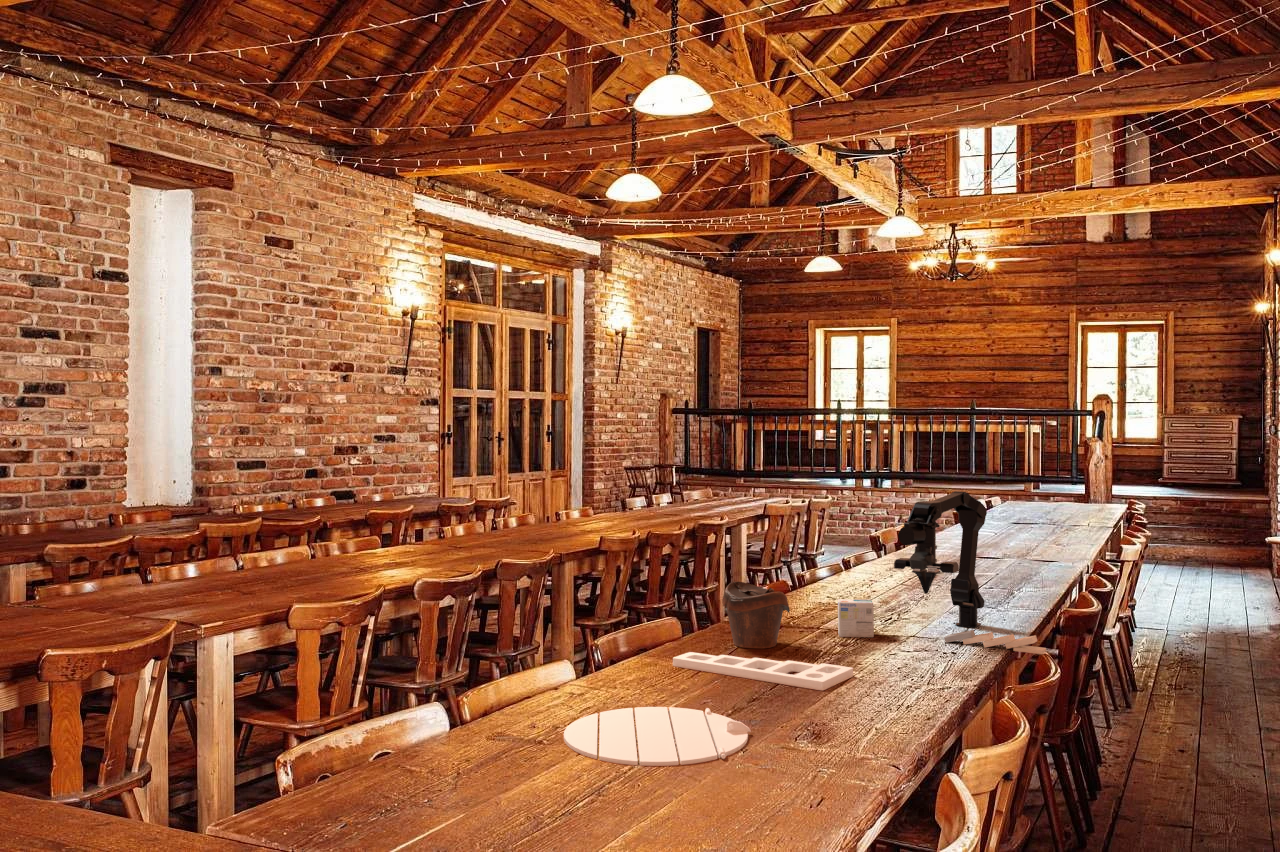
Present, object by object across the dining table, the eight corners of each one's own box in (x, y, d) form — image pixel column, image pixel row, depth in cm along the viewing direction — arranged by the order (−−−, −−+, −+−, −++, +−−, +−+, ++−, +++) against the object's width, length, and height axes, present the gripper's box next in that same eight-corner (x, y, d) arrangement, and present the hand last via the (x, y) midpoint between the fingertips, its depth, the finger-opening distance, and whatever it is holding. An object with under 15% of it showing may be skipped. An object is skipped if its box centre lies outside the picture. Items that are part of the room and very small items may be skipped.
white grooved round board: (739, 710, 250) (739, 696, 250) (764, 766, 211) (764, 748, 211) (567, 712, 248) (566, 698, 248) (560, 769, 209) (560, 751, 209)
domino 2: (966, 636, 322) (992, 632, 318) (967, 641, 322) (994, 637, 318) (962, 639, 319) (988, 634, 315) (963, 644, 318) (990, 640, 314)
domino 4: (1008, 640, 315) (1035, 635, 311) (1010, 646, 314) (1037, 640, 310) (1004, 643, 311) (1032, 637, 307) (1006, 648, 311) (1033, 643, 307)
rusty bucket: (788, 652, 308) (787, 589, 308) (718, 649, 312) (718, 587, 312) (791, 640, 326) (791, 581, 326) (726, 638, 330) (725, 579, 330)
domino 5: (1017, 644, 314) (1046, 648, 309) (1017, 650, 314) (1046, 653, 309) (1013, 647, 310) (1042, 650, 305) (1013, 652, 310) (1042, 656, 305)
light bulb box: (871, 633, 335) (871, 598, 335) (874, 637, 328) (874, 602, 328) (837, 632, 336) (837, 598, 336) (838, 637, 329) (838, 602, 329)
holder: (672, 667, 293) (672, 657, 293) (707, 655, 307) (707, 646, 307) (822, 692, 266) (822, 681, 266) (853, 678, 281) (853, 667, 281)
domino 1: (947, 634, 325) (973, 629, 321) (949, 640, 324) (975, 635, 321) (944, 637, 321) (970, 632, 317) (945, 642, 321) (971, 637, 317)
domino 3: (987, 639, 318) (1013, 634, 313) (989, 645, 318) (1015, 639, 313) (982, 642, 314) (1008, 636, 310) (984, 647, 314) (1010, 642, 310)
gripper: (887, 543, 330) (887, 594, 330) (947, 547, 319) (947, 600, 320) (900, 539, 339) (900, 589, 339) (959, 543, 328) (959, 594, 329)
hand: (926, 593), depth 331 cm, fingers closed
